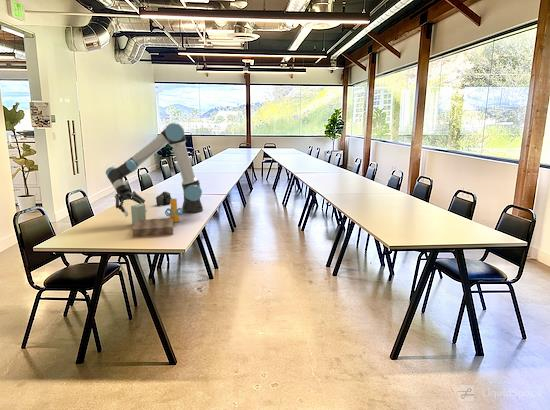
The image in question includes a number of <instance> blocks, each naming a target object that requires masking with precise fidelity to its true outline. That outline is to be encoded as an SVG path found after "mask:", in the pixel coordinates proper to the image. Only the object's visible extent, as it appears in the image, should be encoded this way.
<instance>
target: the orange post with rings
mask: <svg viewBox="0 0 550 410" xmlns="http://www.w3.org/2000/svg"><path fill="white" fill-rule="evenodd" d="M169 204H170V208H169V207H167V208H166V209H165V210H164V214H165V216H167V217H169V218H173V223H178V222H180V216H182V215H183V213H184V212H183V209H182V207H178V199H177V198H172V199H170V203H169ZM168 211H169V212H168ZM179 211H180V212H179Z"/></svg>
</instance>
